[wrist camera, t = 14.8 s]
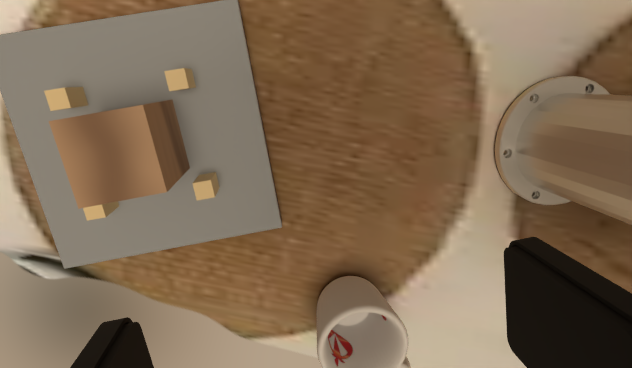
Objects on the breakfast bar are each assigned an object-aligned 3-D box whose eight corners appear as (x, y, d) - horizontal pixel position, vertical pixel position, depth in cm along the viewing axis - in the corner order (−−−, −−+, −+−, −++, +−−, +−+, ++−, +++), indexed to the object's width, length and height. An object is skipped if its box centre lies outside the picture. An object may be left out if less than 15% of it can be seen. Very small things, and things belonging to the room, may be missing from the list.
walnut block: (172, 99, 34) (142, 104, 26) (190, 167, 35) (167, 192, 28) (100, 111, 33) (48, 121, 26) (121, 180, 35) (78, 208, 27)
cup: (417, 311, 43) (448, 361, 35) (365, 360, 44) (385, 420, 36) (347, 250, 41) (364, 290, 33) (293, 304, 41) (298, 355, 34)
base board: (238, 1, 34) (233, -10, 29) (281, 221, 39) (282, 239, 35) (-6, 39, 33) (-49, 33, 28) (72, 261, 38) (46, 284, 33)
